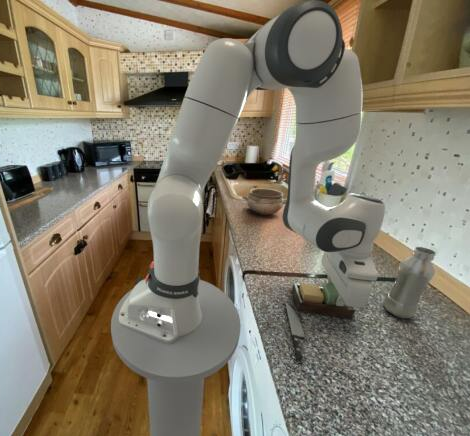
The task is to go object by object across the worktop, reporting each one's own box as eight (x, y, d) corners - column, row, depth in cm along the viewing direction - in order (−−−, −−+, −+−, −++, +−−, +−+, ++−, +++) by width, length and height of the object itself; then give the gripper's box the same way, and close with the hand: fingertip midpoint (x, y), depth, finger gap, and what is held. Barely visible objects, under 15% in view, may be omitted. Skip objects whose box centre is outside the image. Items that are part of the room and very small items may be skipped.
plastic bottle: (415, 325, 63) (449, 260, 56) (383, 315, 66) (411, 252, 59) (409, 309, 69) (439, 248, 61) (379, 301, 72) (404, 241, 64)
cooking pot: (283, 209, 142) (287, 189, 137) (289, 221, 125) (294, 199, 120) (240, 205, 147) (242, 185, 142) (240, 217, 130) (242, 195, 125)
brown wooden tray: (298, 310, 68) (300, 302, 67) (291, 290, 76) (293, 282, 74) (352, 318, 65) (355, 310, 64) (339, 297, 73) (342, 289, 72)
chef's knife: (295, 304, 70) (284, 302, 71) (296, 301, 70) (285, 299, 70) (311, 365, 53) (296, 361, 54) (312, 361, 52) (298, 357, 53)
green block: (326, 306, 67) (330, 294, 66) (320, 294, 72) (323, 283, 70) (346, 309, 66) (350, 297, 65) (339, 296, 71) (343, 285, 69)
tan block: (301, 305, 69) (304, 294, 67) (297, 293, 74) (300, 283, 72) (320, 308, 68) (324, 297, 67) (315, 296, 73) (318, 285, 71)
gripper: (322, 235, 73) (312, 273, 78) (351, 276, 55) (335, 321, 60) (345, 237, 72) (333, 276, 77) (382, 279, 53) (363, 326, 59)
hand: (334, 296), depth 69 cm, fingers closed on green block, 5 cm apart
